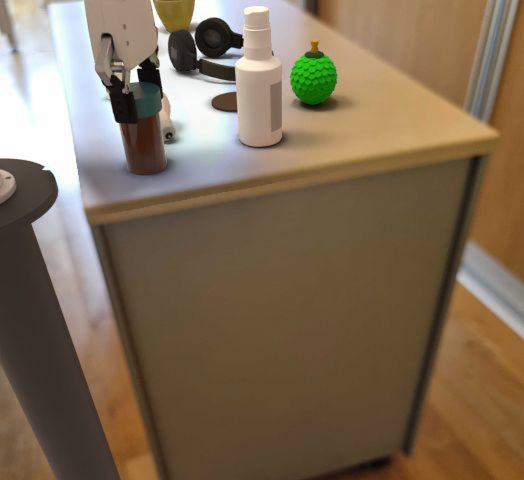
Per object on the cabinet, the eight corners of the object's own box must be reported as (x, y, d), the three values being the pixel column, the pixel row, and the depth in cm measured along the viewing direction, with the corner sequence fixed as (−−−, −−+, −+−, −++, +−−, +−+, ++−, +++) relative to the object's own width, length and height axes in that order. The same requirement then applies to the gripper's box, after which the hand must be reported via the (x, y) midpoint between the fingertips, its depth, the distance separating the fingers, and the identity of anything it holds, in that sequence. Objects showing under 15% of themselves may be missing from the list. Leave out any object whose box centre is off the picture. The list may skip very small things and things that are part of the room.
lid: (122, 123, 75) (118, 103, 73) (105, 107, 79) (101, 88, 77) (170, 111, 77) (167, 92, 75) (151, 97, 82) (148, 78, 80)
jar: (136, 178, 81) (121, 105, 74) (122, 163, 85) (107, 92, 78) (173, 168, 83) (163, 96, 76) (158, 154, 87) (147, 84, 80)
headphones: (209, 9, 119) (290, 38, 113) (208, 47, 124) (285, 76, 118) (156, 29, 109) (242, 61, 103) (158, 69, 114) (239, 102, 108)
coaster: (225, 116, 97) (225, 113, 97) (203, 100, 103) (202, 98, 102) (271, 105, 100) (271, 102, 100) (246, 90, 106) (246, 88, 106)
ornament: (292, 94, 104) (293, 33, 97) (337, 95, 102) (341, 34, 96) (287, 111, 98) (287, 47, 91) (334, 112, 97) (337, 48, 90)
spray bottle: (290, 141, 89) (290, 10, 76) (251, 151, 86) (246, 18, 74) (268, 126, 93) (265, 0, 81) (231, 136, 91) (222, 7, 78)
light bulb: (184, 111, 86) (155, 71, 91) (145, 127, 85) (118, 86, 90) (192, 144, 92) (165, 105, 97) (155, 160, 91) (129, 120, 96)
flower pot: (171, 38, 133) (166, 3, 128) (148, 29, 139) (143, -4, 134) (206, 29, 137) (203, -5, 132) (183, 21, 143) (179, -12, 138)
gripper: (115, -55, 73) (141, 87, 85) (44, -26, 61) (86, 134, 73) (169, -55, 72) (187, 89, 84) (107, -26, 59) (139, 138, 71)
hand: (140, 109), depth 78 cm, fingers open, 8 cm apart
